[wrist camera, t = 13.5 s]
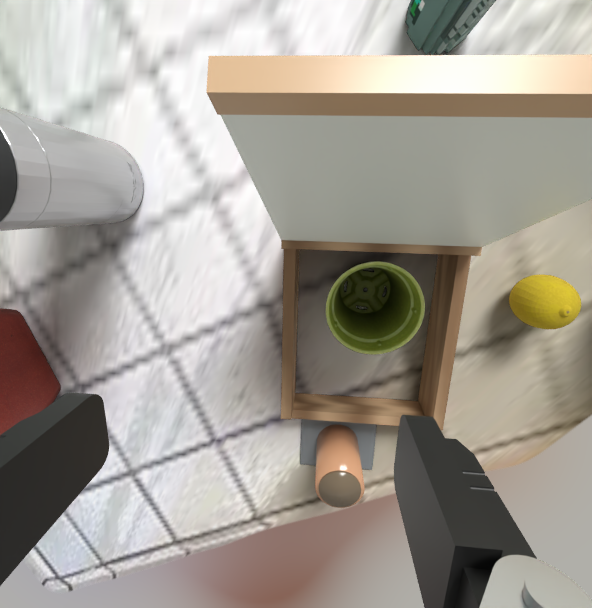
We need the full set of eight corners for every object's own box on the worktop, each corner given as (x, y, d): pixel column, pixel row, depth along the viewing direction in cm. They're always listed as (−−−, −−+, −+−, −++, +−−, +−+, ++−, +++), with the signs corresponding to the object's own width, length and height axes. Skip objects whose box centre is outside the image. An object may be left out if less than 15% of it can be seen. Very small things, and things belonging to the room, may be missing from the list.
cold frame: (286, 400, 46) (278, 438, 39) (289, 230, 40) (281, 235, 33) (426, 409, 45) (446, 451, 37) (451, 235, 39) (482, 242, 31)
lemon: (557, 283, 39) (613, 302, 32) (525, 323, 41) (571, 349, 33) (517, 260, 39) (564, 272, 31) (486, 300, 41) (524, 322, 33)
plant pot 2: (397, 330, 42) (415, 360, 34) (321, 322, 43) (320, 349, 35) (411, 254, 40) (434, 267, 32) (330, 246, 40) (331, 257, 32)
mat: (300, 462, 49) (300, 464, 49) (302, 413, 47) (302, 414, 46) (371, 468, 48) (371, 469, 48) (376, 418, 46) (377, 419, 46)
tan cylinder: (315, 457, 48) (314, 507, 40) (317, 422, 47) (316, 467, 38) (356, 461, 48) (362, 512, 40) (359, 426, 46) (366, 471, 38)
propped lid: (290, 233, 41) (214, 289, 13) (292, 124, 38) (198, -121, 10) (449, 238, 40) (754, 314, 11) (465, 126, 36) (942, -151, 8)
